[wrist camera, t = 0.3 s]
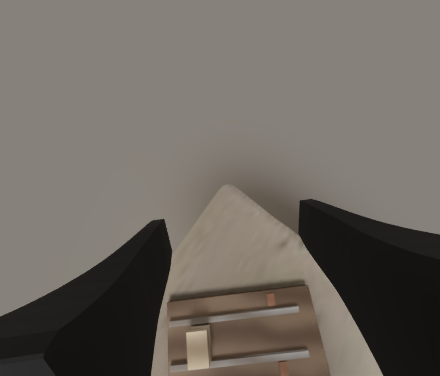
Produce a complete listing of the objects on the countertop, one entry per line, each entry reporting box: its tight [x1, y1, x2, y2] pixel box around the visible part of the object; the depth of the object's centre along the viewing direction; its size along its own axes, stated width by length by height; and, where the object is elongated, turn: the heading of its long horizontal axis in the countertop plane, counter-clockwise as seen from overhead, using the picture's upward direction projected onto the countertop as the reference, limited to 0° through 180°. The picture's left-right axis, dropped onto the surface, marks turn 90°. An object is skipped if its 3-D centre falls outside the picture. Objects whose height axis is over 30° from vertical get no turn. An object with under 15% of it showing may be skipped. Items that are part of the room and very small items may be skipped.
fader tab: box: [186, 324, 212, 370], centre depth 31 cm, size 4×3×4 cm
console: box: [167, 285, 330, 376], centre depth 33 cm, size 12×24×2 cm, turn 97°
